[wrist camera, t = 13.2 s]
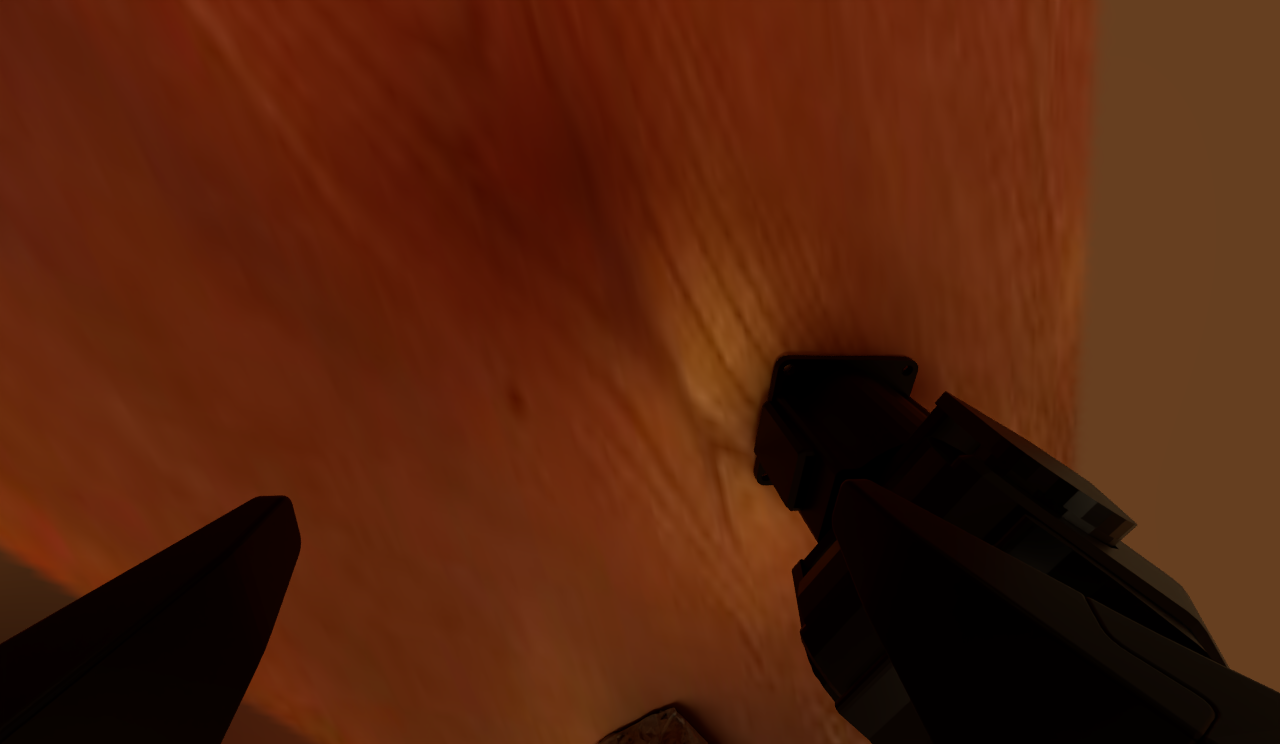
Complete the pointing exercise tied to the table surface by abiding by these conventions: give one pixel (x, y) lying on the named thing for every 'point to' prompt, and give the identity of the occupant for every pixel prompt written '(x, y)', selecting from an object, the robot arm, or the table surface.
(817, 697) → the table surface
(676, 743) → the food item
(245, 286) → the table surface
